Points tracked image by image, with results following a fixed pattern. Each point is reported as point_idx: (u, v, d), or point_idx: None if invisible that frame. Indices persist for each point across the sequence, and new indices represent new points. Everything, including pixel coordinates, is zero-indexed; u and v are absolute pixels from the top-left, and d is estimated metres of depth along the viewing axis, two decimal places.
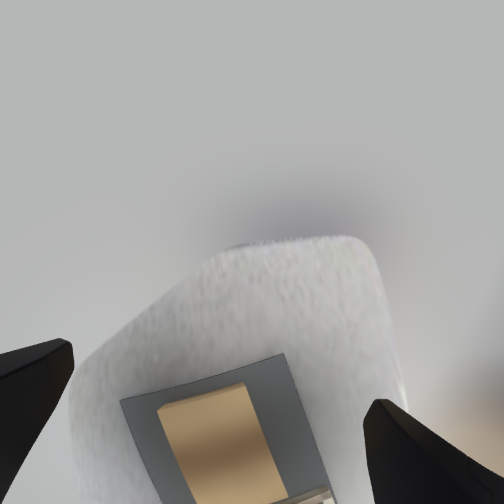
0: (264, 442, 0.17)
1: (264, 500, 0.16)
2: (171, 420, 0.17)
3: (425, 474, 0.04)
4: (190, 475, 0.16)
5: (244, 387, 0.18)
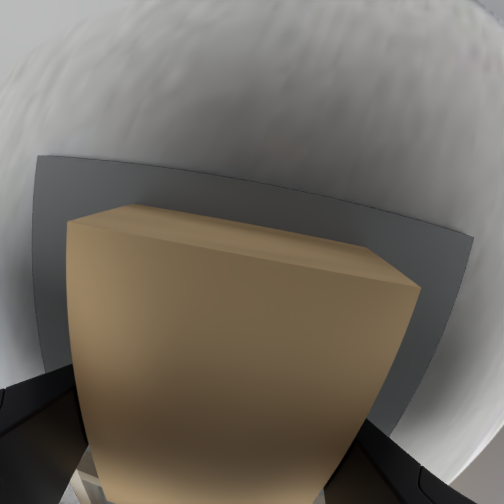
0: (339, 455, 0.06)
1: None
2: (101, 280, 0.05)
3: (370, 482, 0.04)
4: (102, 437, 0.06)
5: (415, 290, 0.05)
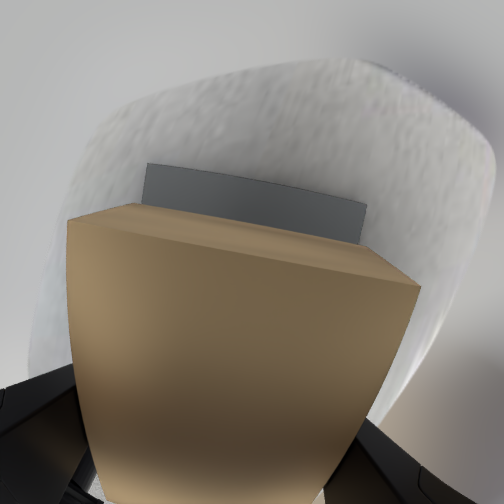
0: (339, 454, 0.06)
1: None
2: (101, 279, 0.05)
3: (370, 482, 0.04)
4: (102, 437, 0.06)
5: (415, 289, 0.05)
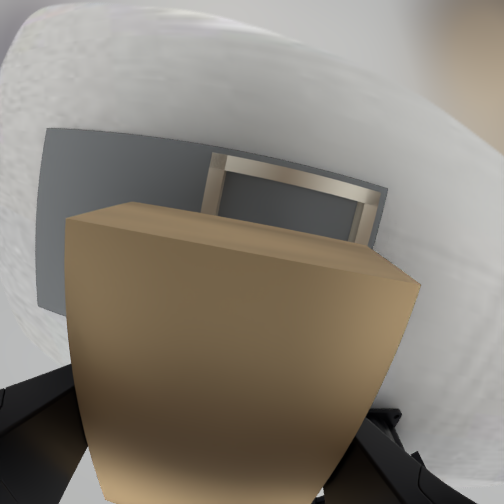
0: (339, 454, 0.06)
1: None
2: (99, 277, 0.05)
3: (370, 482, 0.04)
4: (100, 436, 0.06)
5: (414, 287, 0.05)
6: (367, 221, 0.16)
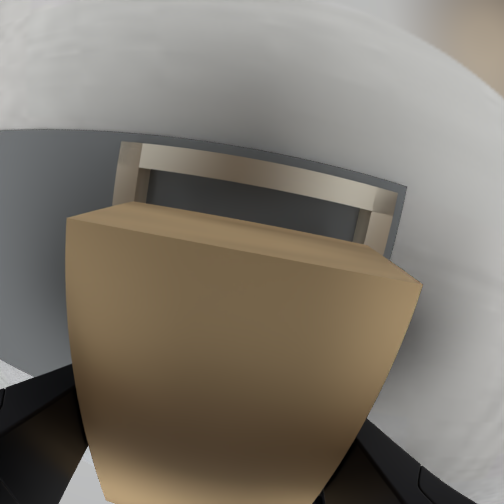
0: (340, 454, 0.06)
1: None
2: (100, 277, 0.05)
3: (370, 482, 0.04)
4: (101, 436, 0.06)
5: (416, 287, 0.05)
6: (376, 241, 0.10)
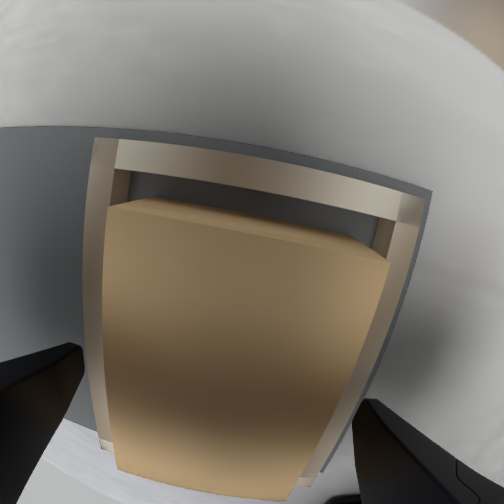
0: (329, 412, 0.07)
1: (241, 492, 0.08)
2: (134, 254, 0.06)
3: (411, 476, 0.04)
4: (121, 399, 0.07)
5: (385, 264, 0.06)
6: (399, 257, 0.08)
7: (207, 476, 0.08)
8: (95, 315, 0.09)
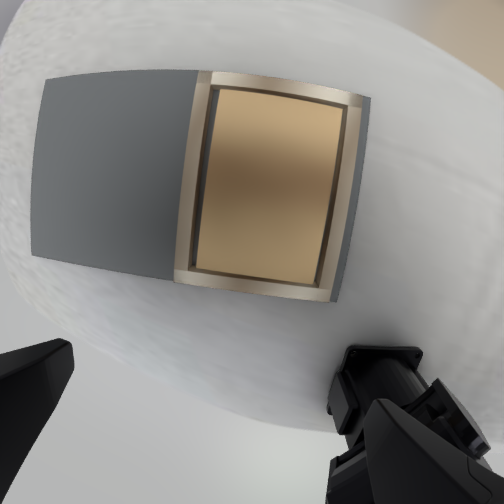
0: (328, 189, 0.15)
1: (283, 272, 0.16)
2: (232, 107, 0.14)
3: (425, 474, 0.04)
4: (214, 190, 0.15)
5: (340, 109, 0.14)
6: (353, 122, 0.15)
7: (261, 254, 0.15)
8: (192, 161, 0.16)
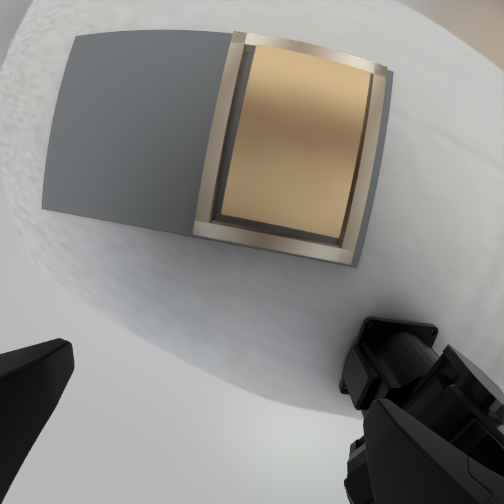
0: (356, 143, 0.14)
1: (310, 223, 0.15)
2: (267, 61, 0.13)
3: (425, 474, 0.04)
4: (245, 136, 0.14)
5: (368, 73, 0.13)
6: (378, 89, 0.15)
7: (289, 203, 0.15)
8: (222, 112, 0.16)
